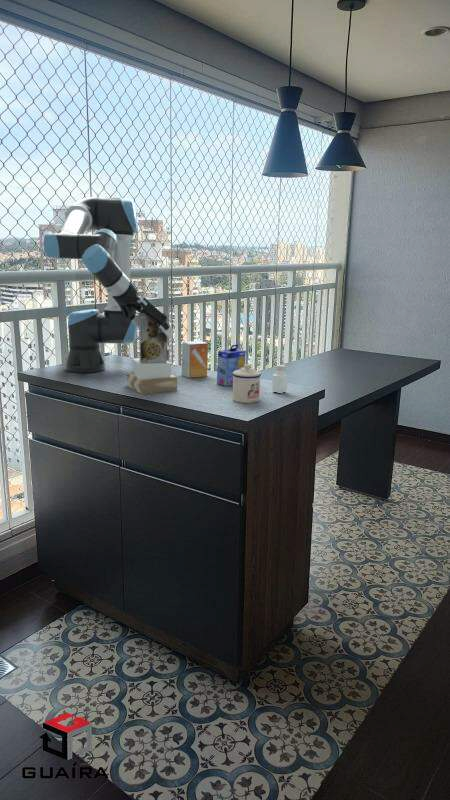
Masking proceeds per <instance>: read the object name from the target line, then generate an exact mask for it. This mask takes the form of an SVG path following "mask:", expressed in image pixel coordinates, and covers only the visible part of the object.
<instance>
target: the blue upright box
mask: <svg viewBox="0 0 450 800" xmlns="http://www.w3.org/2000/svg"><path fill="white" fill-rule="evenodd" d="M246 353H247V351H246V350H243V349H239V344H233V345H231V346H230V348H229V349H222V350H218V351H217V371H216V372H217V374H216V384H218V385H221V386H225V387H228V386H229V387H230V386H233V375H232V374H233V372H234V371H236V370H239V369H240V368H243V367H244V365H245V364H246V357H247V356H246V355H247V354H246Z"/></svg>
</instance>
